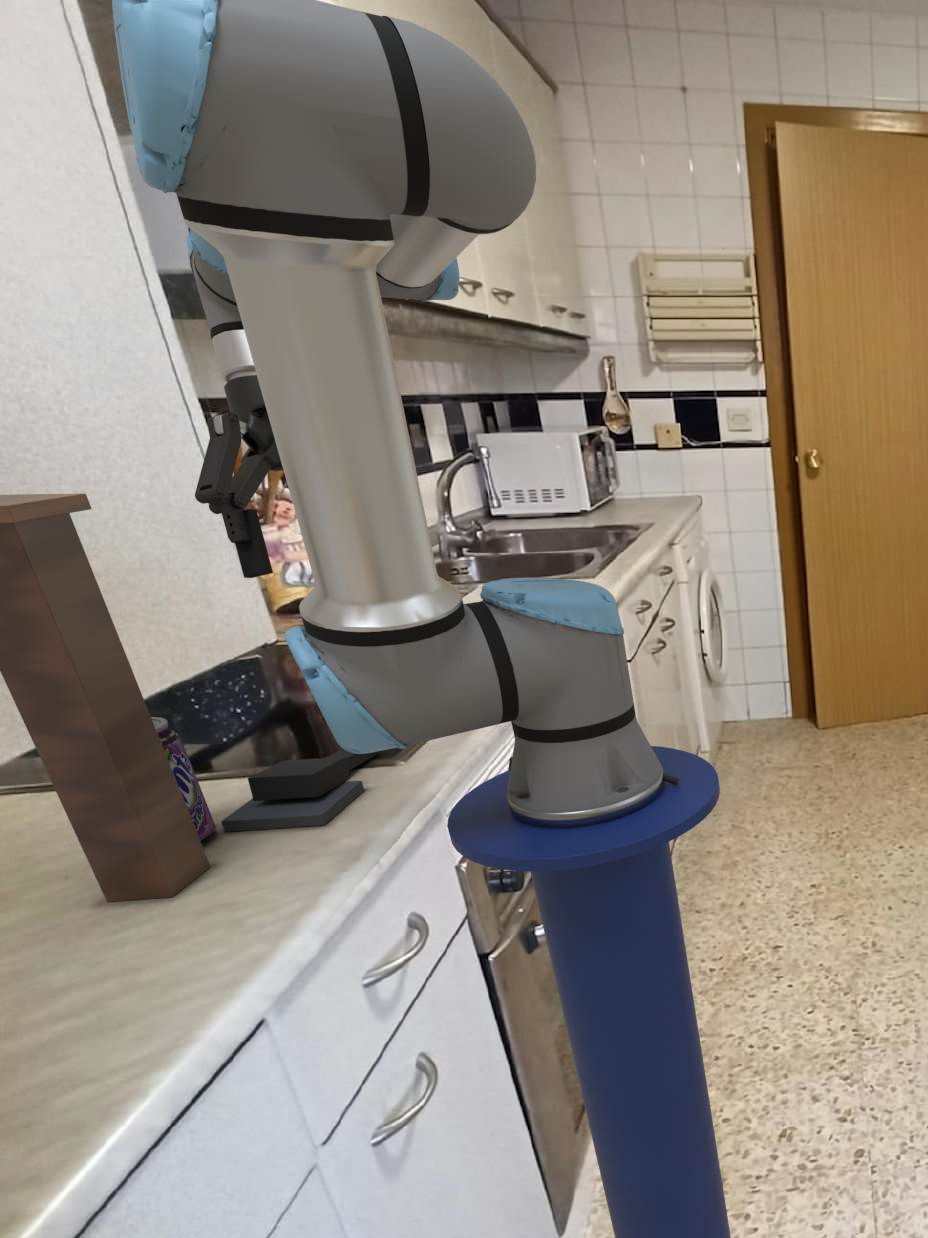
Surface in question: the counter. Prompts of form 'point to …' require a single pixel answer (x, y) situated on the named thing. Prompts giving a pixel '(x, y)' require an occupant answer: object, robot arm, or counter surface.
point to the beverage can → (185, 778)
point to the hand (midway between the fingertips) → (318, 579)
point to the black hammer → (305, 776)
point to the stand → (88, 706)
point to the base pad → (293, 810)
